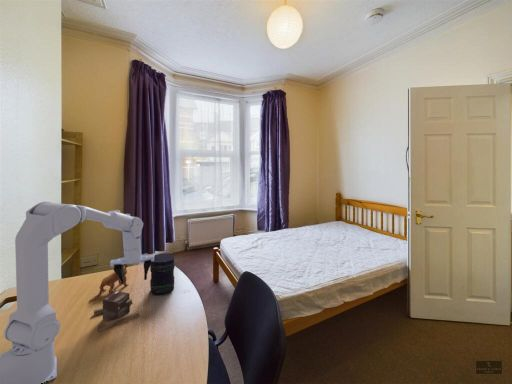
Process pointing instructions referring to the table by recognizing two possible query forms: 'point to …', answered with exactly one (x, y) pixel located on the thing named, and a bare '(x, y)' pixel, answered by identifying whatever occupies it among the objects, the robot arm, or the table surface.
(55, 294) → the table surface
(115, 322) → the shelf lane
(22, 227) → the robot arm
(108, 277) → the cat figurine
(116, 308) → the box
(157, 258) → the storage jar
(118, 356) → the table surface
